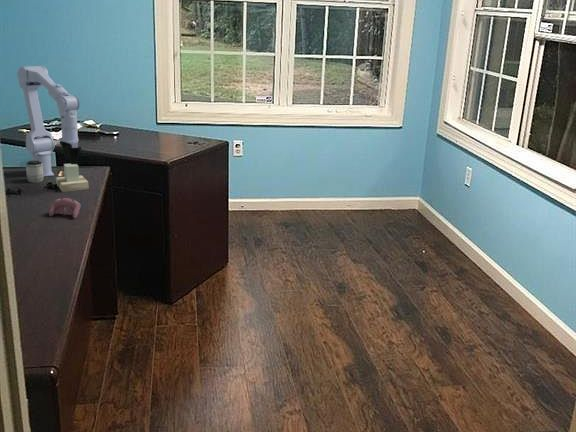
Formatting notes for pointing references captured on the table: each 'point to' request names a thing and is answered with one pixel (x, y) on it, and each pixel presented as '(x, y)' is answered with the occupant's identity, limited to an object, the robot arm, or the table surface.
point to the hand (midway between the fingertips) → (71, 161)
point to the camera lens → (34, 171)
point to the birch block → (72, 184)
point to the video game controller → (65, 202)
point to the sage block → (71, 172)
